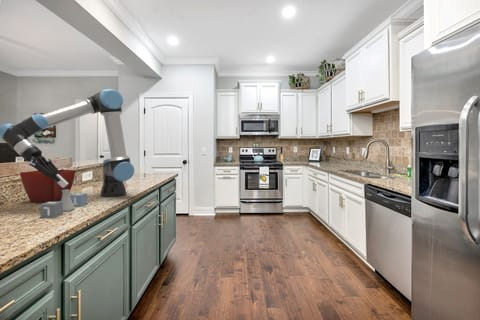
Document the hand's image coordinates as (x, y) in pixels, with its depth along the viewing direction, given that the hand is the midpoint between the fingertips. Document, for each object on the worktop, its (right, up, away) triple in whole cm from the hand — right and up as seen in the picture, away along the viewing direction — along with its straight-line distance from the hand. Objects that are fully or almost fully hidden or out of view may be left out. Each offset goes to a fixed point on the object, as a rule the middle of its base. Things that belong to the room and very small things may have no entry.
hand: (65, 185), depth 131 cm
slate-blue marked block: (-1, -12, +11) cm, 16 cm away
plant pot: (-24, -11, +24) cm, 36 cm away
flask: (0, -12, +1) cm, 12 cm away
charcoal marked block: (+1, -13, -10) cm, 16 cm away
